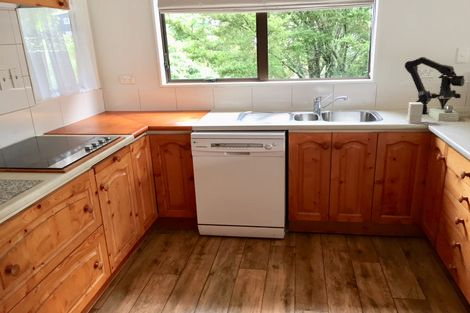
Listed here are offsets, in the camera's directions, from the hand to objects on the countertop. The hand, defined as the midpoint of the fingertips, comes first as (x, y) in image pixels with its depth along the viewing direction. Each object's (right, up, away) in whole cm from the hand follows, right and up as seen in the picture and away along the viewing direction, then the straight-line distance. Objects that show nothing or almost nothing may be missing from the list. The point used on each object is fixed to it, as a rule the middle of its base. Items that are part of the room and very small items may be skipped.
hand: (442, 108), depth 250 cm
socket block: (-2, -7, -4) cm, 8 cm away
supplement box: (-26, -11, -14) cm, 32 cm away
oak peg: (0, -5, +1) cm, 5 cm away
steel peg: (-2, -5, -11) cm, 12 cm away
